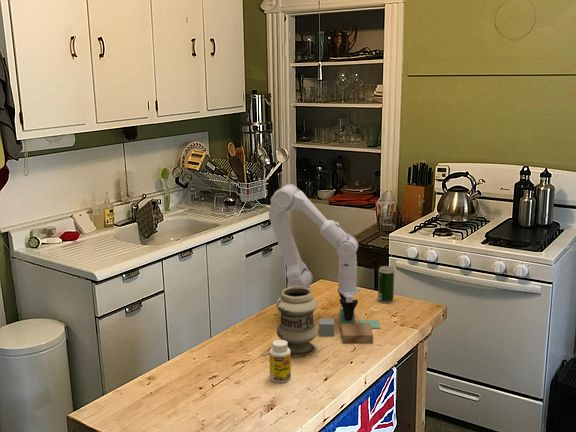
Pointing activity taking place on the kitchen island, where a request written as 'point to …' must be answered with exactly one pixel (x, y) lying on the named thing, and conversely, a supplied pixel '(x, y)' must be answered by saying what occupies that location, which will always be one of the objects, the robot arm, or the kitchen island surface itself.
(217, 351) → the kitchen island surface
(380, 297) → the beer can
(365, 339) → the walnut block
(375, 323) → the teal square tile
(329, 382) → the kitchen island surface
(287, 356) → the supplement bottle
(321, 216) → the robot arm
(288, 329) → the apothecary jar
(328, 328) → the slate block
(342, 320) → the teal block
